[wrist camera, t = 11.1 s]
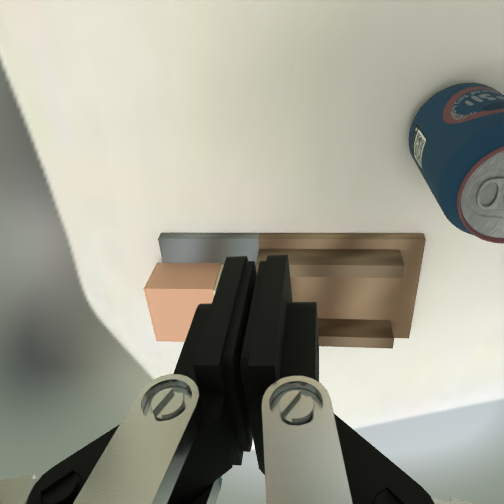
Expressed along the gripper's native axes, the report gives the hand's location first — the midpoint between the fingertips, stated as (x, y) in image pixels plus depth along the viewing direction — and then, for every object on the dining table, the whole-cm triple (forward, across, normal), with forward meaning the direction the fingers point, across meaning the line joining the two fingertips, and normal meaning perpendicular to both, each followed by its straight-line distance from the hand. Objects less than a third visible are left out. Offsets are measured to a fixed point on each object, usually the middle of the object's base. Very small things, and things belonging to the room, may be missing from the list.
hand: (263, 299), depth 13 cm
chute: (+24, +2, +18) cm, 30 cm away
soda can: (+25, -11, +4) cm, 28 cm away
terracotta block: (+23, +11, +17) cm, 31 cm away
